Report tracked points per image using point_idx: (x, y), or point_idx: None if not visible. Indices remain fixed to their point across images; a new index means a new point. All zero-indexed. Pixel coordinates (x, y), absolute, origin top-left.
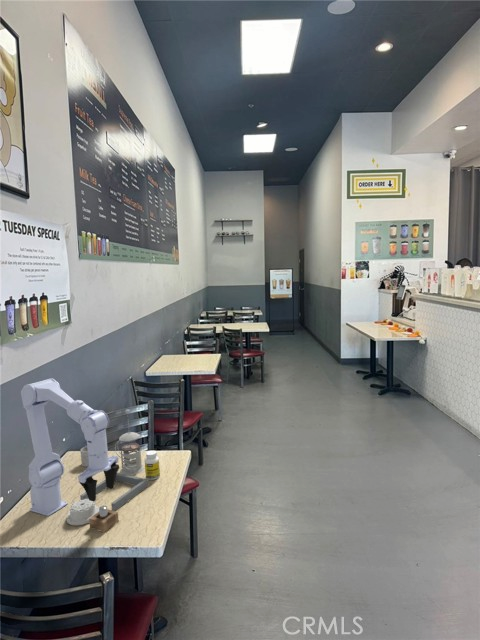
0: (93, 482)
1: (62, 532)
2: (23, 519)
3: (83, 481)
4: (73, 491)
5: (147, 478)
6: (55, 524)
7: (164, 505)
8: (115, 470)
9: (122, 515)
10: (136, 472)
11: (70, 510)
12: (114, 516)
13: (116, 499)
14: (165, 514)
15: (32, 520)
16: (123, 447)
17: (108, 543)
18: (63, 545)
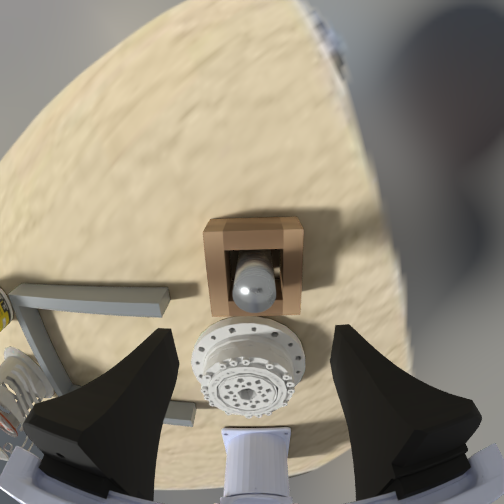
0: (472, 415)
1: None
2: (317, 447)
3: (498, 453)
4: (174, 442)
5: (10, 309)
6: (314, 392)
7: (54, 129)
8: (81, 417)
9: (172, 234)
10: (22, 357)
11: (287, 400)
12: (228, 228)
13: (132, 315)
14: (95, 74)
15: (315, 436)
16: (12, 432)
17: (348, 144)
18: (398, 294)
